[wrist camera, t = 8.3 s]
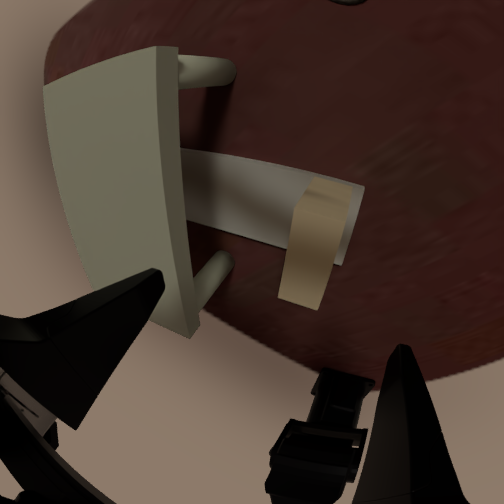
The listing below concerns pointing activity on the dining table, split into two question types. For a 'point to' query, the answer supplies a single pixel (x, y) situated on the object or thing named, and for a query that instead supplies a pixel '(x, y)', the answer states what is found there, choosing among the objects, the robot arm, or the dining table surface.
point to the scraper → (275, 213)
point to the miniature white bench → (133, 173)
